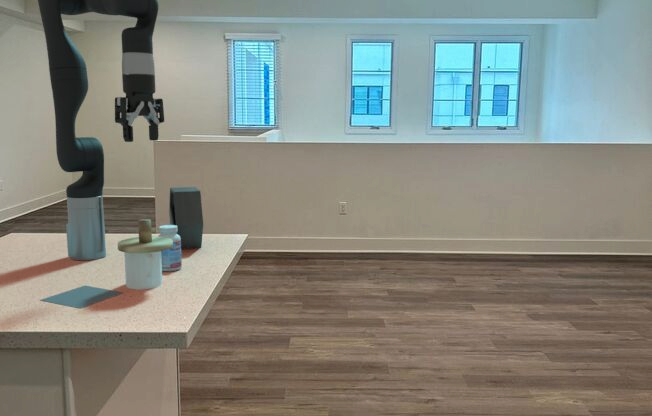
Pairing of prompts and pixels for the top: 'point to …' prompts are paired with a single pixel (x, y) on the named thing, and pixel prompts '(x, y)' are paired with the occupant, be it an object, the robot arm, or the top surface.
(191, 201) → the planter
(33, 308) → the top surface
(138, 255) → the mug
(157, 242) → the lid
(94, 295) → the mat
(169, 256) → the pill bottle
